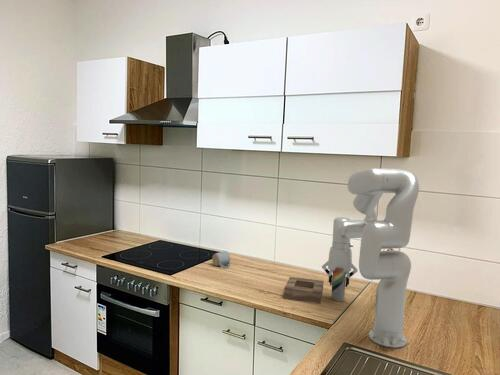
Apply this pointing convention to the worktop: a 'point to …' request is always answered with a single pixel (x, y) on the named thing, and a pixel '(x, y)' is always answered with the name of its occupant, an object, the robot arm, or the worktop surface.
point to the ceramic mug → (221, 259)
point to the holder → (304, 290)
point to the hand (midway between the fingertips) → (338, 284)
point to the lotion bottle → (338, 284)
